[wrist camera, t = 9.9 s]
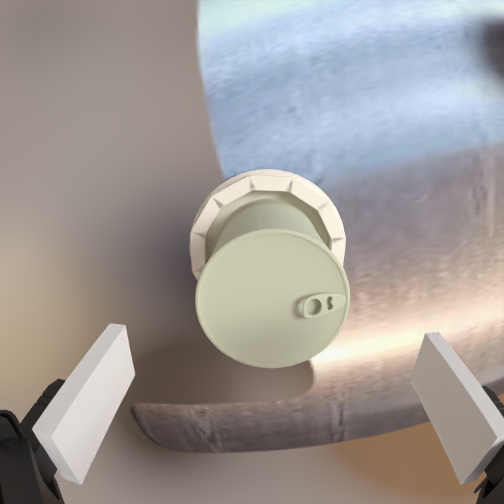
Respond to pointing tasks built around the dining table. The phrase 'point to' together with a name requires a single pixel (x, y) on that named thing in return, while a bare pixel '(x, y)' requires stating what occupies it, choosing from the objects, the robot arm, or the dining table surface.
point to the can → (271, 287)
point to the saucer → (263, 187)
